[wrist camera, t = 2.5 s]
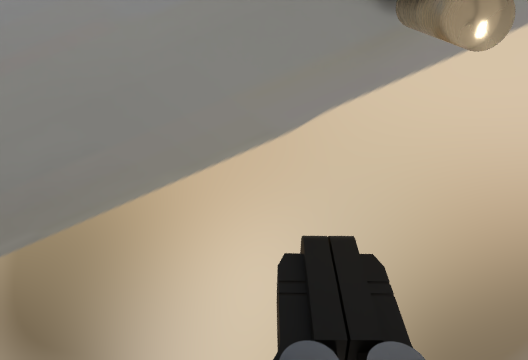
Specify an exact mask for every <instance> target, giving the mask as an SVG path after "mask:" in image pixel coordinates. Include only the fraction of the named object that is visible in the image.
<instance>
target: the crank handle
mask: <svg viewBox="0 0 528 360" xmlns="http://www.w3.org/2000/svg"><path fill="white" fill-rule="evenodd" d="M396 13H397V17H398V19H399V20H400V22H401V23H402V24H403V25H405V26H407V27H409V28H412V29H414V30H417V31H420V32H422V33H425V34H428V35H430V36H433V37H436V38H438V39H441V40H443V41H446V42H449V43H451V44H454V45H457V46H459V47H462V48H465V49H467V50H470V51H484V50H488V49H490V48H492V47H494V46H495V45H497V44H498V43H499V42H501V41H502V40H503V39H504V38H505V36H506V35H507V34H508V32H509V31H510V29H511V27H512V25H513V22H514V18H515V4H514V1H513V0H397V3H396Z"/></svg>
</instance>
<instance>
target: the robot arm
mask: <svg viewBox="0 0 528 360" xmlns="http://www.w3.org/2000/svg"><path fill="white" fill-rule="evenodd" d="M277 338H278V352H277V354H276V356H275V358H274V359H273V360H425V359H424V357H423V356H422V355H421V354H420V353H419V352H417V351H416V350H415V349H413V347H412V345H411V342H410V340H409V337H408V334H407V331H406V328H405V325H404V322H403V319H402V317H401V314H400V311H399V308H398V305H397V302H396V299H395V297H394V295H393V291H392V288H391V285H390V284H389V279H388V276H387V273H386V271H385V268H384V266H383V265H382V264H381V263H380V262H379V261H378V259H377V258H376V257H375V256H374V255H373V254H359V251H358V248H357V244H356V240H355V238H354V236H328V237H327V236H302V238H301V252H300V254H292V253H288V254H287V253H285V254H284V256H283V258H282V259H281V261H280V263H279V265H278V276H277Z"/></svg>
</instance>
